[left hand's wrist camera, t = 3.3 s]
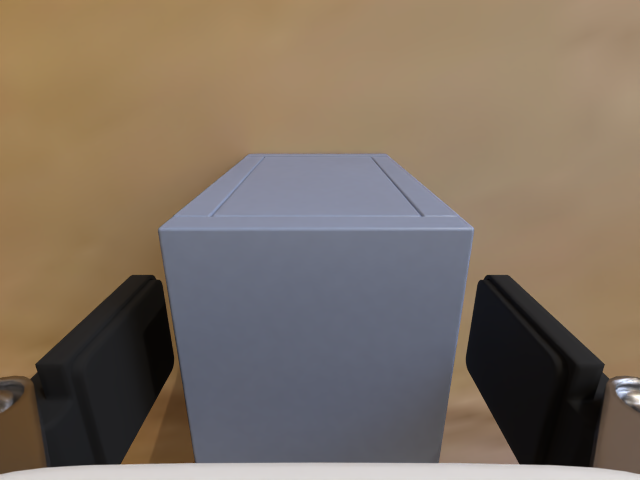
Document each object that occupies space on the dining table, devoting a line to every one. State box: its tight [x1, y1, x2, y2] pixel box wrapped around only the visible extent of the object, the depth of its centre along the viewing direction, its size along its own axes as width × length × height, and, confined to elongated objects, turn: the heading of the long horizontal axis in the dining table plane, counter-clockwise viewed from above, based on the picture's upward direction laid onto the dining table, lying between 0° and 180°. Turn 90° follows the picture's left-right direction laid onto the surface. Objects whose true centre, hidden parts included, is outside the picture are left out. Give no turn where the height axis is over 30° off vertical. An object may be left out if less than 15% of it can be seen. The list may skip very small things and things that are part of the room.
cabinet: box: [158, 154, 474, 463], centre depth 16 cm, size 19×6×10 cm, turn 0°
